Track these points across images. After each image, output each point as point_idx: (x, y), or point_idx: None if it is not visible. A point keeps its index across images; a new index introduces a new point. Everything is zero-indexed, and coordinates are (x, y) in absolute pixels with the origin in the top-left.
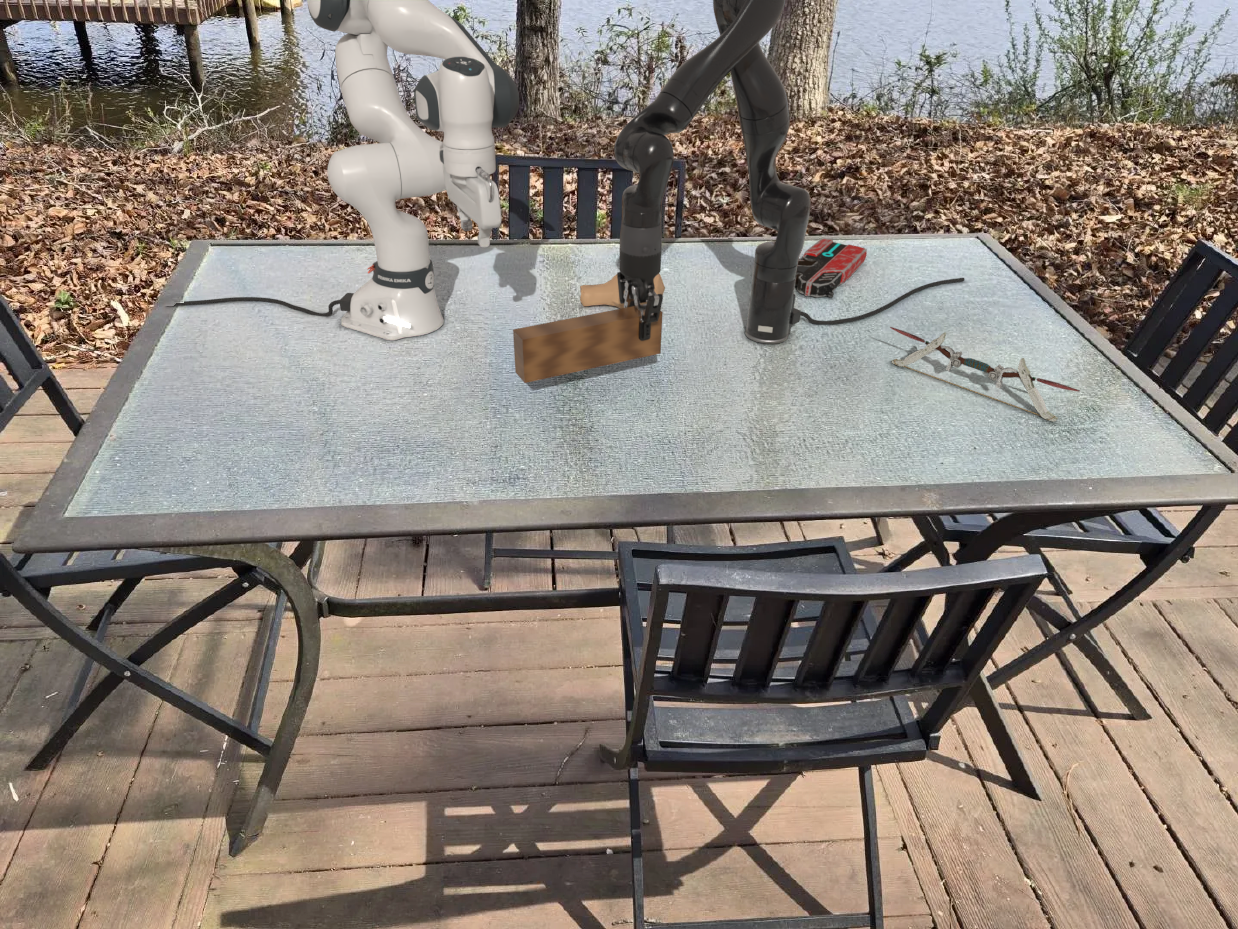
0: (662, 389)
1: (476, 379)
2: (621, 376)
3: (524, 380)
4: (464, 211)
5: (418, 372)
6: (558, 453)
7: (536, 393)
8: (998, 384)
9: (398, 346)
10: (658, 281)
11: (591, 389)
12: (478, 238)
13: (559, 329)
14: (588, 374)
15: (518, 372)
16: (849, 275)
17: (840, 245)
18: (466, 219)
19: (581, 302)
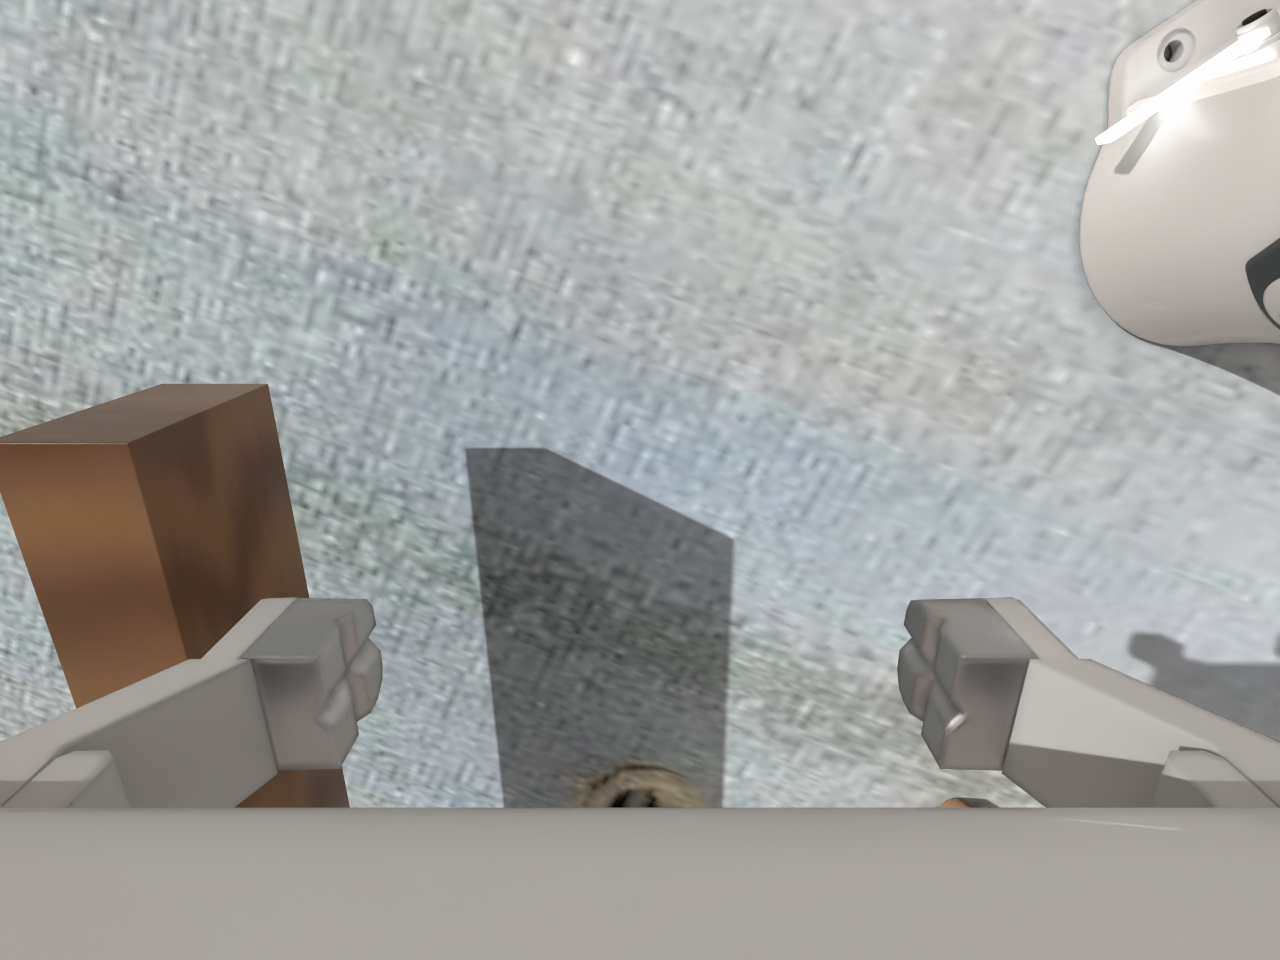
0: (350, 768)
1: (616, 296)
2: (461, 710)
3: (155, 386)
4: (598, 832)
5: (771, 89)
6: (43, 371)
7: (440, 451)
8: None
9: (1047, 76)
10: None
11: (411, 609)
12: (286, 641)
13: (84, 645)
14: (507, 637)
15: (220, 387)
16: None
17: None
18: (1018, 727)
19: (958, 804)
